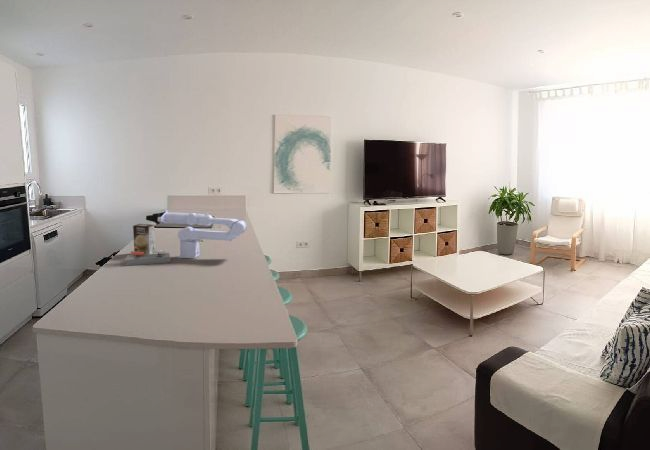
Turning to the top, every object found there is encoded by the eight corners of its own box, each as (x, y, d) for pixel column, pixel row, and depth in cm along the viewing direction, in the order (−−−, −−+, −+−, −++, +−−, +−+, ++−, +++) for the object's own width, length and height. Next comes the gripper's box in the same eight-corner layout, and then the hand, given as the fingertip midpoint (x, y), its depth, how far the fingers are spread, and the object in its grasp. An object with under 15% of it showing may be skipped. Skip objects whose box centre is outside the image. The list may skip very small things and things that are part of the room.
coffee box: (133, 254, 217) (132, 225, 215) (140, 252, 224) (138, 223, 221) (149, 255, 216) (148, 226, 214) (155, 252, 223) (154, 224, 220)
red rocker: (143, 254, 205) (144, 252, 205) (143, 255, 202) (144, 253, 202) (130, 252, 202) (131, 250, 202) (130, 254, 200) (130, 252, 199)
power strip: (169, 258, 211) (169, 251, 210) (170, 262, 203) (170, 255, 202) (127, 261, 203) (126, 254, 203) (126, 265, 195) (125, 258, 194)
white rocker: (164, 252, 209) (165, 250, 209) (165, 253, 206) (165, 251, 206) (152, 251, 206) (152, 249, 206) (152, 252, 203) (152, 250, 203)
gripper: (180, 209, 219) (155, 207, 219) (169, 212, 204) (143, 211, 204) (180, 221, 220) (155, 220, 220) (170, 225, 205) (143, 224, 205)
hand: (149, 216), depth 212 cm, fingers open, 7 cm apart
